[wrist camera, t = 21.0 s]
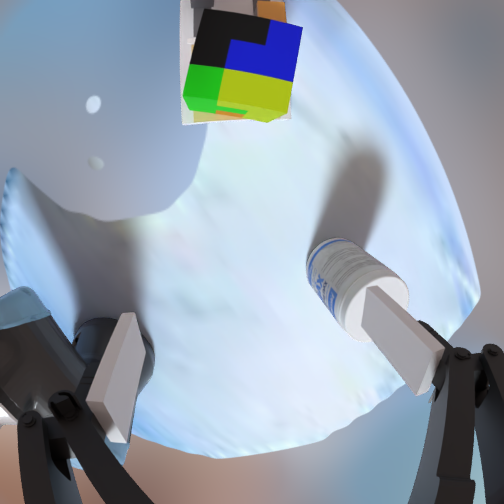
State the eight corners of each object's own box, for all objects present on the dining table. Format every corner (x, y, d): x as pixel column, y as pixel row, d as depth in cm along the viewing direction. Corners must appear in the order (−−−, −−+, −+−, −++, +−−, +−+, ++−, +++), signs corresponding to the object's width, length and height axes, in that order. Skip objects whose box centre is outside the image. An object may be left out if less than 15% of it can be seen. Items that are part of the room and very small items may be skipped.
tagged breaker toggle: (252, 36, 31) (259, 21, 26) (251, 17, 29) (257, 0, 25) (276, 37, 31) (286, 22, 26) (275, 18, 30) (284, 2, 25)
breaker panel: (183, 125, 36) (181, 123, 34) (181, -4, 29) (180, -11, 27) (287, 120, 37) (291, 118, 35) (278, -6, 30) (281, -12, 28)
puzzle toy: (280, 54, 32) (302, 27, 23) (267, 122, 35) (287, 113, 26) (204, 41, 30) (204, 8, 21) (189, 110, 33) (182, 95, 24)
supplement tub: (292, 265, 45) (327, 315, 31) (338, 223, 43) (390, 256, 30) (327, 303, 48) (366, 356, 34) (369, 264, 47) (420, 306, 33)
